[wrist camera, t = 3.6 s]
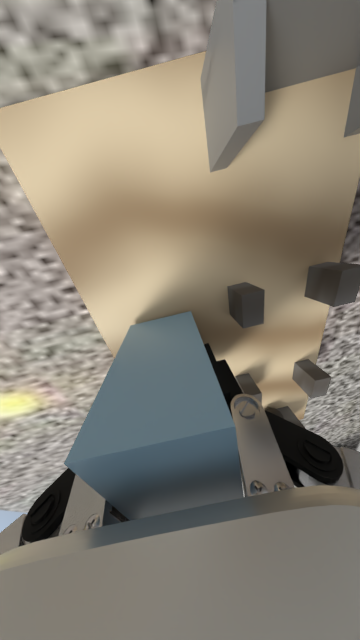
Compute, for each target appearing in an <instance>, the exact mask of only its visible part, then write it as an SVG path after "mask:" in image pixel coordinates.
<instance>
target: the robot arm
mask: <svg viewBox="0 0 360 640" xmlns="http://www.w3.org/2000/svg"><path fill="white" fill-rule="evenodd" d="M204 346H205V349H206V352H207V354H208V357H209V359H210V362H211V364H212V367H213V370H214V372H215V375H216V377H217V380H218V383H219V385H220V388H221V390H222V393H223V395H224V398H225V401H226V403H227V406H228V408H229V411H230V414H231V416H232V419H233V421H234V424H235V427H236V436H237V445H238V453H239V462H240V471H241V478H242V483H243V489H244V494H245V497H243V498H238V499H233V500H228V501H223V502H218V503H213V504H208V505H203V506H198V507H194V508H189V509H184V510H179V511H174V512H169V513H164V514H160V515H155V516H150V517H145V518H140V519H136V520H131V521H130V520H129V519H128V518H126V517H125V516H124V515H123V514H122V513H121V512H119V511H118V510H117V509H116V508H115V507H114V506H112V505H111V504H110V503H109V502H108V501H107V500H105V499H104V498H103V497H102V496H101V495H100V494H98V493H97V492H96V491H95V490H94V489H93V488H92V487H90V486H89V485H88V484H87V483H86V482H85V481H83V480H82V479H81V478H80V477H79V476H78V475H76V474H75V473H74V472H73V471H72V470H71V469H69V468H68V469H67V470H66V471H65V472H64V473H63V474H62V475H61V476H60V477H59V478H58V479H57V480H56V481H55V482H54V483H53V484H52V485H51V486H50V487H49V488H47V489H46V490H45V491H44V492H43V493H42V494H41V496H40V497H39V498H38V499H37V500H36V501H35V503H34V504H33V506H32V507H31V508H30V510H29V512H28V514H27V515H26V514H23V515H21V516H20V517H19V518H18V519H17V520H15V521H14V522H13V523H12V524H10V525H9V526H8V527H7V528H6V529H4V530H3V531H2V532H1V533H0V640H360V452H358V451H355V450H352V449H349V448H346V447H343V446H342V447H341V448H338V447H335V446H333V445H331V444H330V443H329V442H328V441H327V440H325V439H324V438H322V437H321V436H319V435H317V434H315V433H313V432H311V431H309V430H306V429H304V428H302V427H300V426H298V425H296V424H294V423H292V422H290V421H287V420H285V419H283V418H281V417H279V416H277V415H275V414H273V413H270V412H268V411H266V410H264V408H263V406H262V404H261V402H260V401H259V400H258V399H257V398H255V397H254V396H252V395H249V394H243V392H242V390H241V388H240V386H239V384H238V382H237V380H236V379H235V377H234V375H233V373H232V371H231V369H230V367H229V365H228V363H227V362H226V360H225V359H224V360H219V361H216V359H215V356H214V354H213V352H212V350H211V347H210V345H209V343H206V344H204Z"/></svg>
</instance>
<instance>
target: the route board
mask: <svg viewBox="0 0 360 640" xmlns="http://www.w3.org/2000/svg"><path fill="white" fill-rule="evenodd" d="M205 54H206V51H204V52H201V53H197V54H193V55H190V56H186V57H183V58H179V59H175V60H172V61H168V62H165V63H161V64H157V65H154V66H150V67H147V68H143V69H139V70H136V71H132V72H129V73H125V74H121V75H118V76H114V77H111V78H107V79H103V80H100V81H96V82H93V83H89V84H85V85H82V86H78V87H75V88H71V89H67V90H64V91H60V92H57V93H53V94H49V95H46V96H42V97H39V98H35V99H31V100H28V101H24V102H21V103H17V104H13V105H10V106H6V107H2V108H0V148H1V150H2V152H3V153H4V155H5V157H6V159H7V161H8V163H9V164H10V166H11V168H12V170H13V172H14V174H15V176H16V177H17V179H18V181H19V183H20V185H21V187H22V189H23V190H24V192H25V194H26V196H27V198H28V200H29V201H30V203H31V205H32V207H33V209H34V211H35V213H36V214H37V216H38V218H39V220H40V222H41V224H42V226H43V227H44V229H45V231H46V233H47V235H48V237H49V238H50V240H51V242H52V244H53V246H54V248H55V250H56V251H57V253H58V255H59V257H60V259H61V261H62V263H63V264H64V266H65V268H66V270H67V272H68V274H69V275H70V277H71V279H72V281H73V283H74V285H75V287H76V288H77V290H78V292H79V294H80V296H81V298H82V300H83V301H84V303H85V305H86V307H87V309H88V311H89V312H90V314H91V316H92V318H93V320H94V322H95V324H96V325H97V327H98V329H99V331H100V333H101V335H102V337H103V338H104V340H105V342H106V344H107V346H108V348H109V349H110V351H111V353H112V355H113V357H114V359H115V357H116V355H117V353H118V351H119V349H120V346H121V344H122V342H123V340H124V338H125V336H126V334H127V332H128V330H129V328H130V326H131V325H135V324H139V323H143V322H147V321H151V320H155V319H160V318H164V317H168V316H172V315H176V314H180V313H184V312H189V311H191V313H192V315H193V318H194V321H195V323H196V326H197V328H198V331H199V333H200V336H201V339H202V341H203V344H206V343H209V345H210V347H211V350H212V352H213V354H214V356H215V359H216V361H219V360H224V359H225V360H226V362H227V363H228V365H229V367H230V369H231V371H232V373H233V375H234V377H235V379H236V380H237V382H238V384H239V386H240V388H241V390H242V392H243V394H249V395H252V396H254V397H255V398H257V399H258V400H259V401H260V402H261V404H262V406H263V408H264V410H266V411H268V412H270V413H273V414H275V415H277V416H279V417H281V418H283V419H285V420H287V421H290V422H292V423H294V424H296V425H298V426H300V427H302V428H304V429H305V427H304V426H303V425H302V423H301V422H300V421H299V420H300V419H303V418H304V413H305V409H306V405H307V400H308V396H309V397H310V398H315V397H319V396H324V395H326V393H327V390H328V387H329V384H330V380H331V376H329V375H328V374H327V373H325V372H324V371H323V370H322V369H320V368H319V367H318V366H317V365H316V362H317V358H318V353H319V349H320V345H321V340H322V336H323V332H324V328H325V323H326V319H327V315H328V310H329V306H333V307H335V306H339V305H344V304H348V303H352V302H355V300H356V296H357V293H358V290H359V287H360V265H359V264H348V263H340V259H341V255H342V251H343V246H344V242H345V238H346V233H347V229H348V225H349V221H350V216H351V212H352V208H353V203H354V199H355V195H356V191H357V186H358V182H359V178H360V133H359V134H356V135H352V136H348V137H344V132H345V126H346V121H347V115H348V110H349V104H350V99H351V93H352V88H353V82H354V77H355V71H356V68H355V69H351V70H347V71H344V72H340V73H336V74H333V75H329V76H325V77H321V78H318V79H314V80H310V81H307V82H303V83H299V84H296V85H292V86H288V87H284V88H281V89H277V90H273V91H270V92H266V93H265V118H264V121H263V122H262V123H261V125H260V126H259V127H258V128H257V130H256V131H255V132H254V134H253V135H252V136H251V137H250V139H249V140H248V141H247V143H246V144H245V145H244V147H243V148H242V149H241V150H240V152H239V153H238V154H237V156H236V157H235V158H234V159H233V161H232V162H231V163H230V165H229V166H228V167H227V168H226V169H222V170H218V171H214V172H210V167H209V157H208V148H207V138H206V128H205V118H204V109H203V99H202V89H201V80H200V78H201V74H202V69H203V64H204V59H205ZM343 137H344V138H343Z"/></svg>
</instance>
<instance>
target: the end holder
mask: <svg viewBox="0 0 360 640" xmlns="http://www.w3.org/2000/svg"><path fill="white" fill-rule="evenodd" d="M355 68H356V71H355V77H354V82H353V88H352V93H351V99H350V104H349V110H348V115H347V121H346V126H345V132H344V137H348V136H352V135H356V134H359V133H360V0H217V1H216V6H215V11H214V16H213V21H212V25H211V30H210V35H209V40H208V45H207V49H206V54H205V59H204V64H203V69H202V74H201V78H200V80H201V89H202V99H203V109H204V118H205V128H206V138H207V148H208V157H209V167H210V172H214V171H218V170H222V169H226V168H227V167H228V166H229V165H230V163H231V162H232V161H233V159H234V158H235V157H236V156H237V154H238V153H239V152H240V150H241V149H242V148H243V147H244V145H245V144H246V143H247V141H248V140H249V139H250V137H251V136H252V135H253V134H254V132H255V131H256V130H257V128H258V127H259V126H260V125H261V123H262V122H263V121H264V118H265V93H266V92H270V91H273V90H277V89H281V88H284V87H288V86H292V85H296V84H299V83H303V82H307V81H310V80H314V79H318V78H321V77H325V76H329V75H333V74H336V73H340V72H344V71H347V70H351V69H355ZM344 137H343V138H344Z"/></svg>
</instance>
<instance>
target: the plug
mask: <svg viewBox="0 0 360 640" xmlns="http://www.w3.org/2000/svg"><path fill="white" fill-rule="evenodd" d="M64 464H65V465H66V466H67V467H68V468H69V469H71V470H72V471H73V472H74V473H75V474H76V475H78V476H79V477H80V478H81V479H82V480H83V481H85V482H86V483H87V484H88V485H89V486H90V487H92V488H93V489H94V490H95V491H96V492H97V493H98V494H100V495H101V496H102V497H103V498H104V499H105V500H107V501H108V502H109V503H110V504H111V505H112V506H114V507H115V508H116V509H117V510H118V511H119V512H121V513H122V514H123V515H124V516H125V517H126V518H128V519H129V520H130V521H131V520H136V519H140V518H145V517H150V516H155V515H160V514H164V513H169V512H174V511H179V510H184V509H189V508H194V507H198V506H203V505H208V504H213V503H218V502H223V501H228V500H233V499H238V498H243V489H242V480H241V471H240V462H239V453H238V445H237V436H236V427H235V424H234V421H233V419H232V416H231V414H230V411H229V408H228V406H227V403H226V401H225V398H224V395H223V393H222V390H221V388H220V385H219V383H218V380H217V377H216V375H215V372H214V370H213V367H212V364H211V362H210V359H209V357H208V354H207V352H206V349H205V346H204V344H203V341H202V339H201V336H200V333H199V331H198V328H197V326H196V323H195V321H194V318H193V315H192V313H191V311H189V312H184V313H180V314H176V315H172V316H168V317H164V318H160V319H155V320H151V321H147V322H143V323H139V324H135V325H131V326H130V328H129V330H128V332H127V334H126V336H125V338H124V340H123V342H122V344H121V346H120V349H119V351H118V353H117V355H116V357H115V359H114V361H113V363H112V365H111V367H110V369H109V371H108V373H107V376H106V378H105V380H104V382H103V384H102V386H101V388H100V390H99V392H98V394H97V396H96V398H95V400H94V403H93V405H92V407H91V409H90V411H89V413H88V415H87V417H86V419H85V421H84V423H83V425H82V427H81V430H80V432H79V434H78V436H77V438H76V440H75V442H74V444H73V446H72V448H71V450H70V452H69V454H68V457H67V459H66V461H65V463H64Z"/></svg>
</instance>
